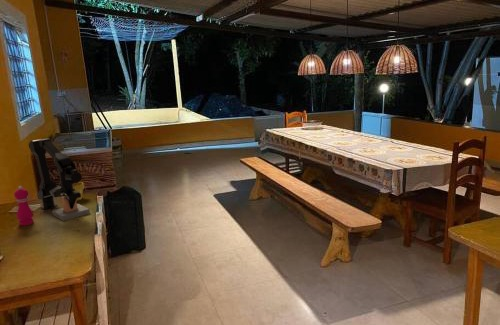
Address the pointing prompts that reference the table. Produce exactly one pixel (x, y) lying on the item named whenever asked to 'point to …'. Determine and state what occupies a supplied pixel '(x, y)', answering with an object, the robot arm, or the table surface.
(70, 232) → the table surface
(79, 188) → the plant pot
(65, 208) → the keyed peg
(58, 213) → the socket block
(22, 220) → the pink bowling pin
